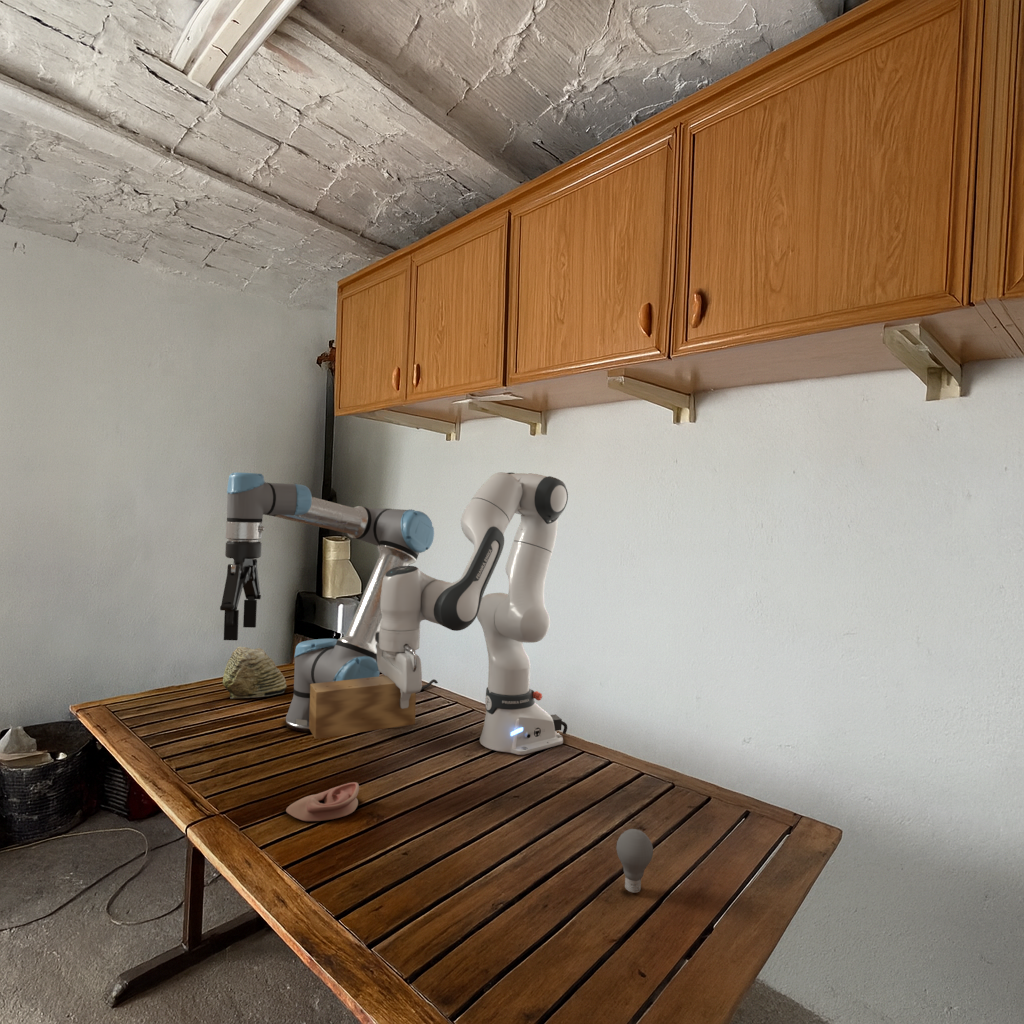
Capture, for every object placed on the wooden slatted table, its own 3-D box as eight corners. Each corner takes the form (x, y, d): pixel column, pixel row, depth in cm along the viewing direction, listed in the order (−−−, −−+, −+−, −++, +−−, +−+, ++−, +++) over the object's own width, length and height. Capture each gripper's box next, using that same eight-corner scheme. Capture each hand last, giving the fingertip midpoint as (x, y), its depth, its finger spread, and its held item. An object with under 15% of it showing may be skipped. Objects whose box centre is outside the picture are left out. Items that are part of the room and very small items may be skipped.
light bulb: (610, 879, 108) (613, 822, 108) (644, 879, 109) (647, 822, 109) (619, 902, 102) (622, 840, 102) (655, 901, 103) (658, 840, 103)
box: (315, 739, 129) (316, 692, 129) (309, 728, 134) (310, 683, 134) (415, 724, 139) (416, 680, 139) (405, 715, 145) (406, 673, 144)
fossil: (218, 695, 195) (220, 647, 195) (278, 685, 208) (279, 640, 207) (228, 703, 189) (230, 653, 188) (289, 692, 201) (290, 645, 201)
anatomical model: (278, 797, 124) (308, 772, 135) (277, 817, 124) (307, 791, 136) (340, 806, 122) (366, 781, 133) (339, 827, 122) (365, 799, 133)
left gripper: (244, 545, 132) (240, 646, 133) (275, 537, 157) (272, 622, 157) (206, 543, 131) (202, 645, 132) (243, 536, 156) (240, 622, 156)
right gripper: (430, 649, 132) (428, 715, 133) (398, 629, 150) (396, 687, 151) (401, 652, 129) (399, 719, 130) (372, 631, 147) (370, 690, 148)
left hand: (240, 633), depth 144 cm, fingers open, 13 cm apart
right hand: (397, 702), depth 140 cm, fingers closed on box, 6 cm apart
